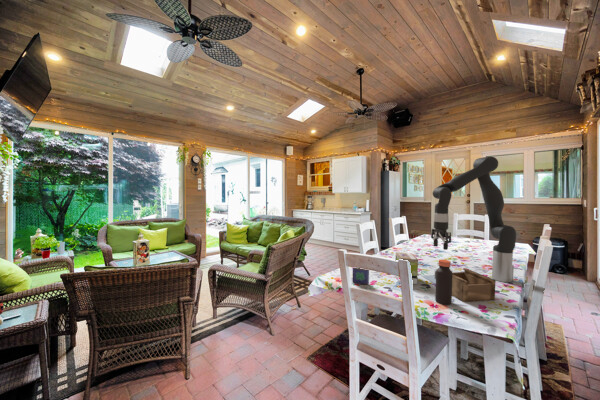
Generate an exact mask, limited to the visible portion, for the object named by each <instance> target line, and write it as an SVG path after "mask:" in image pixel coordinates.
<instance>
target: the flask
mask: <svg viewBox="0 0 600 400" xmlns="http://www.w3.org/2000/svg"><path fill="white" fill-rule="evenodd" d="M351 280H352V284H356V285H361V286H362V285H363V286H369V285H370V269H369V270H365V269H360V268H353V267H352V279H351Z"/></svg>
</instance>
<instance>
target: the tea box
mask: <svg viewBox="0 0 600 400" xmlns="http://www.w3.org/2000/svg"><path fill="white" fill-rule="evenodd" d="M399 259H403V260H408V261H409V262H410V265H411V273H412V280H413V284H412V285H418V274H419V273H418V271H419V270H418V269H419V259H418V258H417V256H415V255H414V254H413V253H412V252H395V261H396V260H399ZM396 279H397V281H398V282H399V284H401V283H400V281H399V278H398V277H396Z"/></svg>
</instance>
